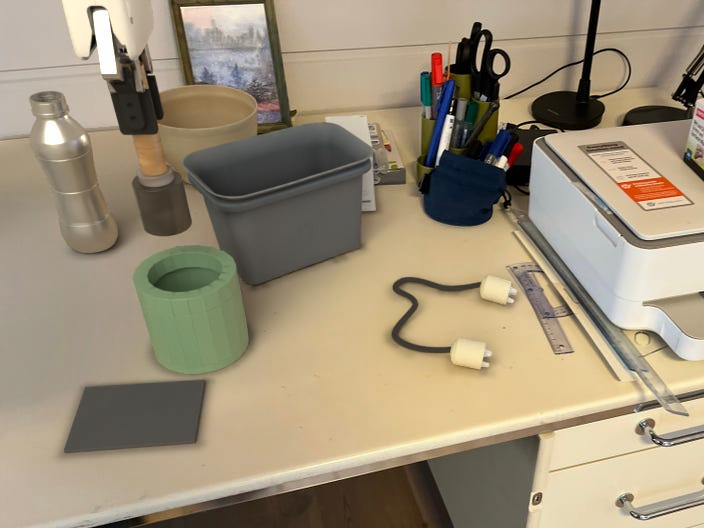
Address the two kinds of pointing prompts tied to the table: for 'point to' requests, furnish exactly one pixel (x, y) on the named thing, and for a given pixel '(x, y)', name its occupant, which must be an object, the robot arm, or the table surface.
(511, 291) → the cable
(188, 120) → the planter bowl
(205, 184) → the storage bin
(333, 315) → the table surface
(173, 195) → the brush
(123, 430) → the mat
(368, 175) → the cosmetics box
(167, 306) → the jar
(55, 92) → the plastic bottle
